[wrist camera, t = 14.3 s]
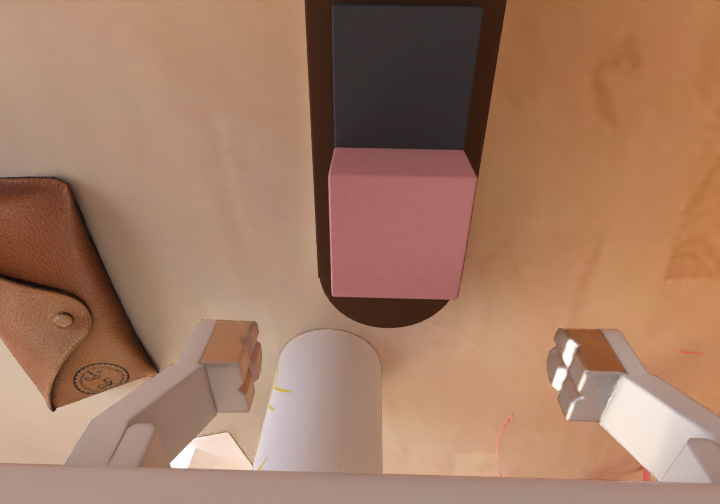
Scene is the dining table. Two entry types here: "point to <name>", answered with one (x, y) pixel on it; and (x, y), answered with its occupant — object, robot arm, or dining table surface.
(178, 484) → the robot arm
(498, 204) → the dining table surface
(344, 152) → the two-tone stepped block
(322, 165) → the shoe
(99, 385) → the sunglasses case
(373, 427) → the cup
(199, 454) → the napkin holder
